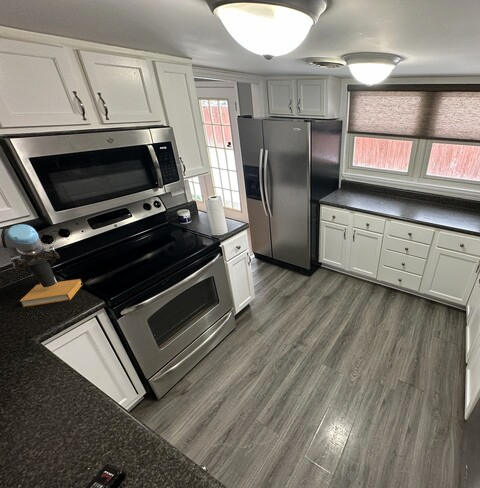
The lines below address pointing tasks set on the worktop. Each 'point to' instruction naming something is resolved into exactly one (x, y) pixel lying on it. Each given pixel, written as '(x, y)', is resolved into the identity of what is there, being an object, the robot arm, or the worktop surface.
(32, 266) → the drinking cup
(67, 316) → the worktop surface
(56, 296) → the book
